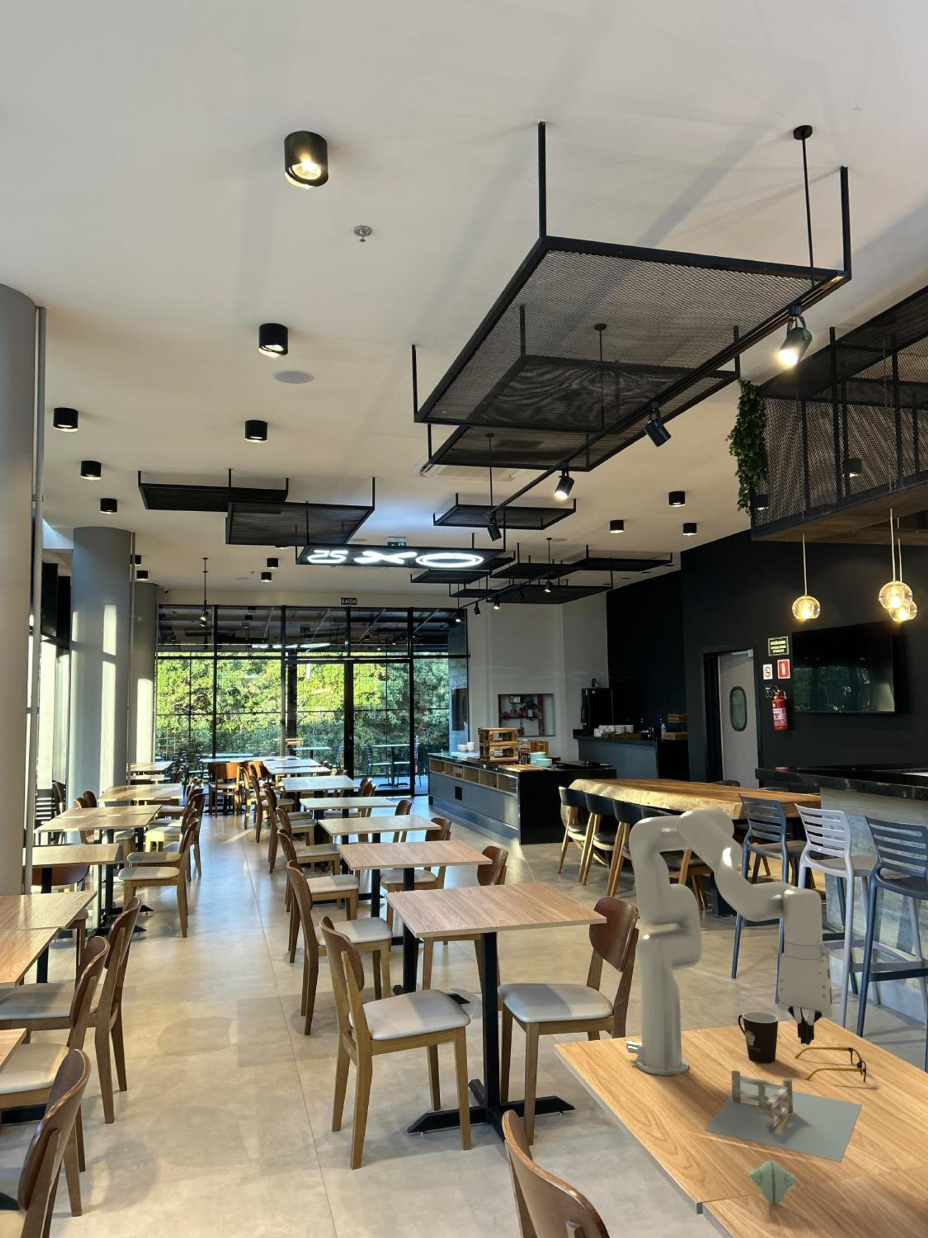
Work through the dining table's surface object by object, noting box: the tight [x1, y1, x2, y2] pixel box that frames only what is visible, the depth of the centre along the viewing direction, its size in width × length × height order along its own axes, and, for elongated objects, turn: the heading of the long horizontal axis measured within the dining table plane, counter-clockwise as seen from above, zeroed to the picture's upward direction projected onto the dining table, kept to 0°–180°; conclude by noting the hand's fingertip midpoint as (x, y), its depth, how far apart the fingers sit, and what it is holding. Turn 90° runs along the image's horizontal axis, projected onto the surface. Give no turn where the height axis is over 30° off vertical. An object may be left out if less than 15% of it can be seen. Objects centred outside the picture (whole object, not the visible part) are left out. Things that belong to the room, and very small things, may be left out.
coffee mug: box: [737, 1011, 779, 1065], centre depth 224 cm, size 12×9×10 cm
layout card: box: [704, 1082, 863, 1163], centre depth 188 cm, size 26×30×1 cm
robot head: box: [748, 1159, 798, 1205], centre depth 155 cm, size 8×4×7 cm, turn 78°
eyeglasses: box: [794, 1046, 867, 1083], centre depth 215 cm, size 14×14×4 cm
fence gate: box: [765, 1085, 790, 1129], centre depth 186 cm, size 11×1×5 cm, turn 142°
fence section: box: [731, 1070, 793, 1113], centre depth 194 cm, size 13×2×6 cm, turn 59°
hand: (806, 1042), depth 183 cm, fingers closed
